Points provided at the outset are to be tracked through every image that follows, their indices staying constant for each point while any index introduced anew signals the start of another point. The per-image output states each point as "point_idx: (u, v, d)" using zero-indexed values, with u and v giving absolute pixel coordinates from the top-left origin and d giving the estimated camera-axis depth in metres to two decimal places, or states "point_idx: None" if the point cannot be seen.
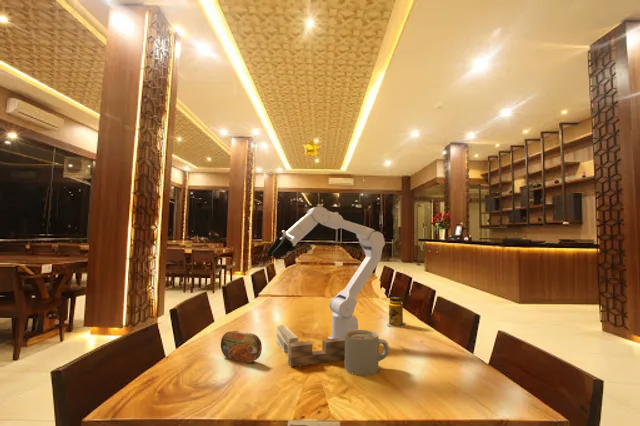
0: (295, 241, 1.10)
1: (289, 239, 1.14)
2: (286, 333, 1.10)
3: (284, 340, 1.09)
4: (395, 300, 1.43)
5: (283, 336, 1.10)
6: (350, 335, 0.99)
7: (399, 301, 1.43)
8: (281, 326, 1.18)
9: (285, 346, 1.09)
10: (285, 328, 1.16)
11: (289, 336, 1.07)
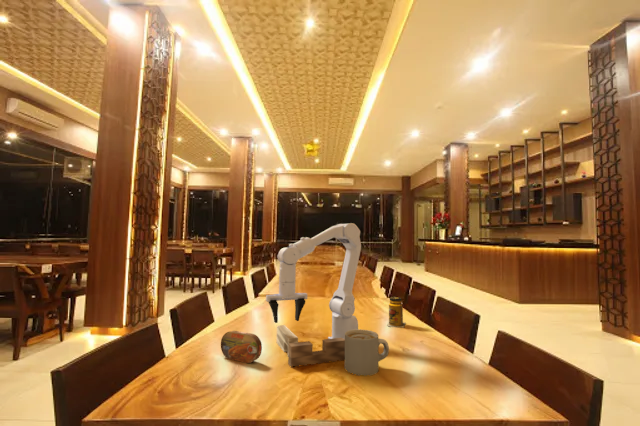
0: None
1: (295, 297, 1.14)
2: (286, 333, 1.10)
3: (284, 340, 1.09)
4: (395, 300, 1.43)
5: (283, 336, 1.10)
6: (350, 335, 0.99)
7: (399, 301, 1.43)
8: (281, 326, 1.18)
9: (285, 346, 1.09)
10: (285, 328, 1.16)
11: (289, 336, 1.07)
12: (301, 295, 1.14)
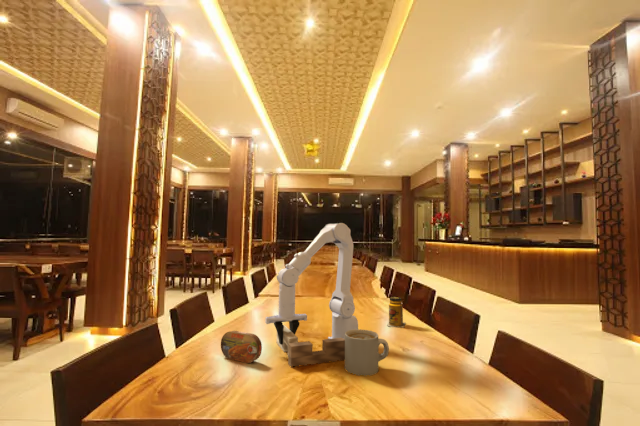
0: None
1: (295, 318, 1.14)
2: (286, 333, 1.10)
3: (284, 340, 1.09)
4: (395, 300, 1.43)
5: (283, 336, 1.10)
6: (350, 335, 0.99)
7: (399, 301, 1.43)
8: None
9: (285, 346, 1.09)
10: (285, 328, 1.16)
11: (289, 336, 1.07)
12: (301, 316, 1.13)
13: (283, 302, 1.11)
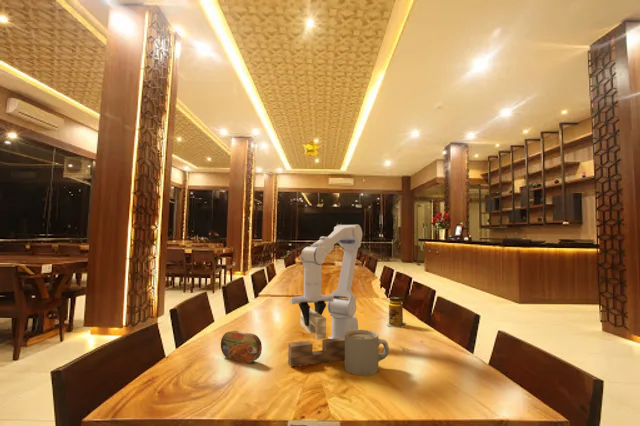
0: None
1: (321, 299, 1.08)
2: (312, 314, 1.04)
3: (310, 321, 1.03)
4: (395, 300, 1.43)
5: (309, 317, 1.04)
6: (350, 335, 0.99)
7: (399, 301, 1.43)
8: None
9: (311, 328, 1.03)
10: (310, 310, 1.10)
11: (316, 317, 1.01)
12: (327, 297, 1.07)
13: (314, 281, 1.05)
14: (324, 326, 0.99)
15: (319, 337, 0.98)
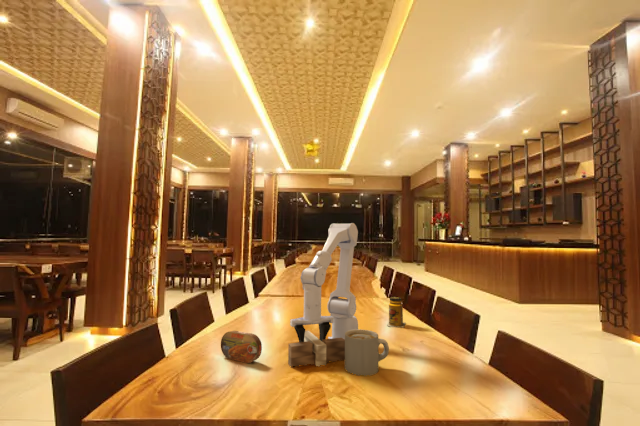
0: None
1: None
2: (312, 340, 1.03)
3: None
4: (395, 300, 1.43)
5: None
6: (350, 335, 0.99)
7: (399, 301, 1.43)
8: (305, 332, 1.11)
9: None
10: (310, 334, 1.09)
11: (316, 343, 1.00)
12: (327, 319, 1.07)
13: (314, 304, 1.04)
14: (325, 353, 0.98)
15: (319, 365, 0.98)
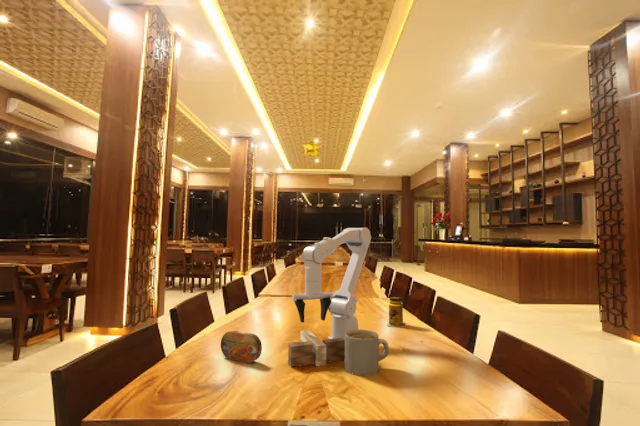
0: None
1: (321, 296, 1.13)
2: (312, 340, 1.03)
3: None
4: (395, 300, 1.43)
5: None
6: (350, 335, 0.99)
7: (399, 301, 1.43)
8: (305, 332, 1.11)
9: None
10: (310, 334, 1.09)
11: (316, 343, 1.00)
12: (327, 294, 1.13)
13: (313, 279, 1.10)
14: (325, 353, 0.98)
15: (319, 365, 0.98)
